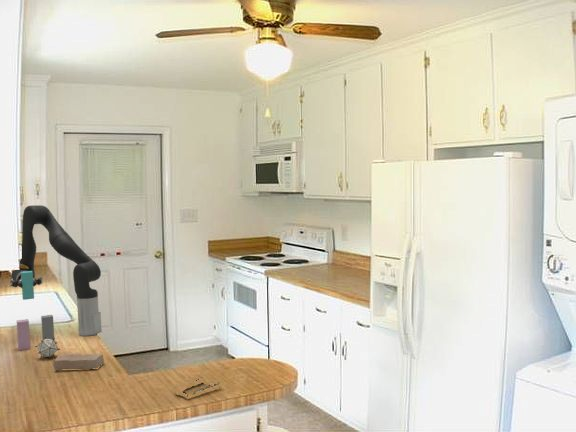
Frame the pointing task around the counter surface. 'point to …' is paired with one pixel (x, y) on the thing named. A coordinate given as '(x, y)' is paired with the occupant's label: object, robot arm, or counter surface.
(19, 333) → the plum block
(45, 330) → the charcoal block
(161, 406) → the counter surface
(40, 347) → the game die
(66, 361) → the brick
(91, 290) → the robot arm
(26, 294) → the teal block
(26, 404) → the counter surface
